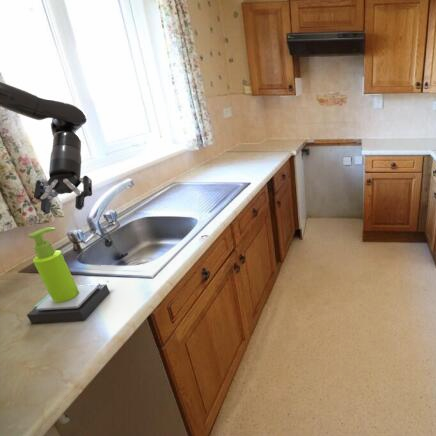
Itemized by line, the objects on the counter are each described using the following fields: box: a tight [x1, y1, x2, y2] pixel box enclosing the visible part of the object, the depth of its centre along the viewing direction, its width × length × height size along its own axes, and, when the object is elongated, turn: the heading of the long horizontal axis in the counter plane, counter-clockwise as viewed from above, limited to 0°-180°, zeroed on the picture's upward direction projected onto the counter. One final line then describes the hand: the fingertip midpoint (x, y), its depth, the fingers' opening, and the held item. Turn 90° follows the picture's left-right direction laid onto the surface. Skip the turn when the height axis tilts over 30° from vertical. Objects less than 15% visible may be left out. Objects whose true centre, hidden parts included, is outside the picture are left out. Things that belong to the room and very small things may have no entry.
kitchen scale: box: [26, 283, 110, 324], centre depth 91 cm, size 14×12×4 cm
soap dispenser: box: [27, 226, 79, 303], centre depth 86 cm, size 6×7×20 cm
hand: (62, 210), depth 95 cm, fingers open, 8 cm apart
